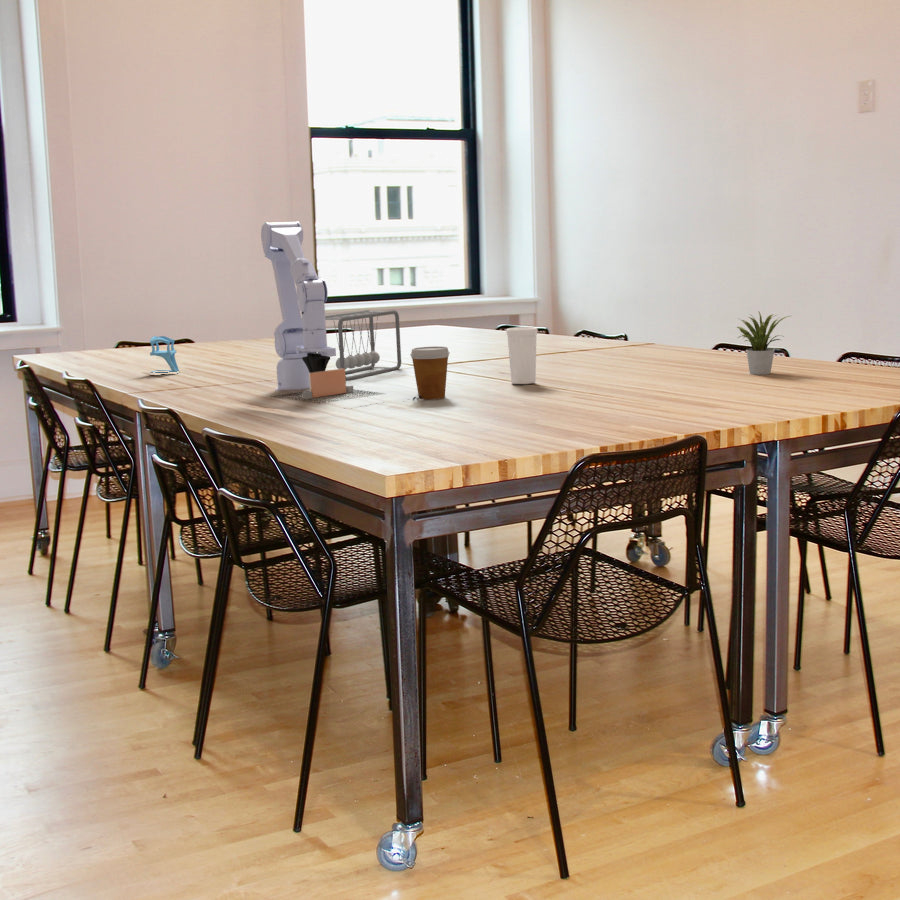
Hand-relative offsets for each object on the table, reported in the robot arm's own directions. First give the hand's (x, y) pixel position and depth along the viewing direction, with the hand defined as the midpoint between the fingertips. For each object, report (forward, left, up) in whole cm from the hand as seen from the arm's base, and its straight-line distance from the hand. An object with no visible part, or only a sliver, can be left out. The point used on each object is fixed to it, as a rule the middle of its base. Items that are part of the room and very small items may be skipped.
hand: (317, 384), depth 275 cm
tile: (+5, 0, -2) cm, 5 cm away
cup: (+26, +46, -4) cm, 53 cm away
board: (+4, 0, -3) cm, 5 cm away
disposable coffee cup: (+25, +16, -4) cm, 30 cm away
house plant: (+66, +94, -4) cm, 115 cm away
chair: (-89, +3, -4) cm, 89 cm away
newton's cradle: (-31, +35, -4) cm, 47 cm away
